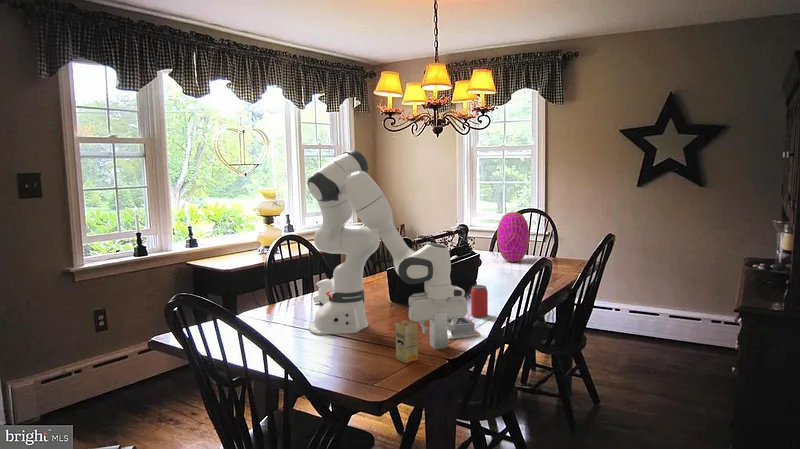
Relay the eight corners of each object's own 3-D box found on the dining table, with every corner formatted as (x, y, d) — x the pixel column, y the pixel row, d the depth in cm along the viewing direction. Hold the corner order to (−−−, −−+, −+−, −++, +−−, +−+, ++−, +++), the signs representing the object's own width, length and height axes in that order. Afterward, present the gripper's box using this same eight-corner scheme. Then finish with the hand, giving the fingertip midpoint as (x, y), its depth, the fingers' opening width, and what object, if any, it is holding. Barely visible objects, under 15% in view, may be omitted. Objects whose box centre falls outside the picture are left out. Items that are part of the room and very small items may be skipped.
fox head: (320, 282, 262) (297, 288, 243) (350, 271, 255) (328, 277, 237) (329, 309, 260) (306, 318, 242) (360, 299, 254) (338, 307, 236)
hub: (449, 339, 198) (449, 327, 197) (436, 329, 209) (436, 318, 209) (480, 335, 202) (480, 323, 201) (466, 326, 213) (465, 315, 212)
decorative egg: (527, 258, 350) (527, 210, 347) (530, 264, 331) (531, 213, 328) (496, 258, 353) (496, 210, 349) (497, 264, 334) (497, 214, 330)
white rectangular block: (434, 349, 189) (434, 314, 187) (429, 344, 193) (429, 310, 192) (447, 347, 190) (447, 312, 189) (442, 343, 195) (441, 309, 193)
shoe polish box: (408, 355, 183) (407, 319, 182) (418, 359, 179) (417, 322, 178) (396, 358, 180) (395, 322, 179) (405, 363, 176) (405, 325, 175)
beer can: (475, 318, 223) (474, 289, 221) (468, 314, 229) (468, 285, 228) (490, 317, 224) (490, 287, 223) (483, 313, 231) (483, 284, 229)
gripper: (411, 296, 183) (412, 337, 185) (469, 290, 189) (469, 330, 191) (405, 292, 189) (406, 332, 191) (461, 286, 195) (461, 325, 197)
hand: (438, 331), depth 191 cm, fingers open, 8 cm apart
